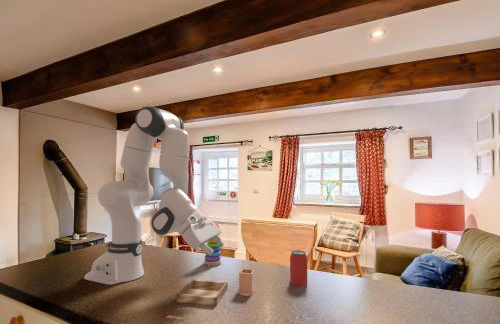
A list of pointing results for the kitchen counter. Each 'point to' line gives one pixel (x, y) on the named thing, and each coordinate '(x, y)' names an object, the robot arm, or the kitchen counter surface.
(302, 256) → the beer can
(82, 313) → the kitchen counter surface
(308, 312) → the kitchen counter surface
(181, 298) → the tray
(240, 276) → the collar
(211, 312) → the kitchen counter surface
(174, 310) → the kitchen counter surface
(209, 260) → the stacking toy
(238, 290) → the silver knob
